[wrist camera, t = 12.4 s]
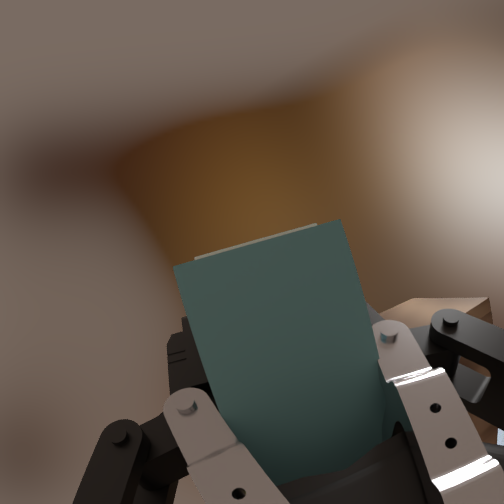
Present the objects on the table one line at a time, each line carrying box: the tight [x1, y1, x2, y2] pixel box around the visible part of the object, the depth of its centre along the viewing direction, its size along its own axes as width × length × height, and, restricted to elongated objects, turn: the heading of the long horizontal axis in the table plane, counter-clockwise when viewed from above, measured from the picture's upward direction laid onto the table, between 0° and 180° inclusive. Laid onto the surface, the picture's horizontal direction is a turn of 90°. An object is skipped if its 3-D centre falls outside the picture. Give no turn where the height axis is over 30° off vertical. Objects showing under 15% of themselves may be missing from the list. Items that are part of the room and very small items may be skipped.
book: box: [173, 219, 386, 486], centre depth 17 cm, size 4×21×7 cm, turn 7°
